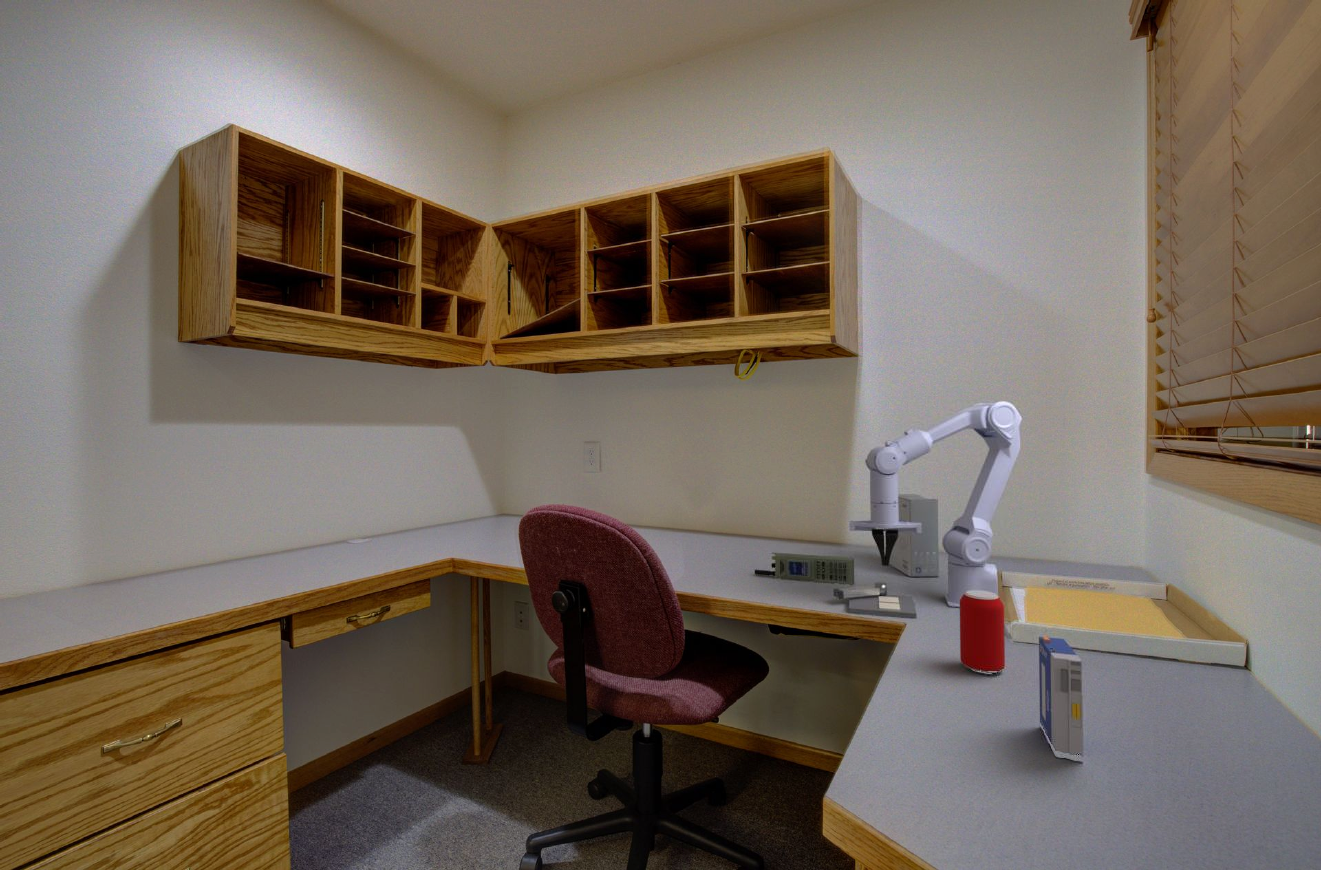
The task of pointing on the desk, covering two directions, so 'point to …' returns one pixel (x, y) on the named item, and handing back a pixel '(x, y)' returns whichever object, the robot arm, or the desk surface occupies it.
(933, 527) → the hard drive box
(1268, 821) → the desk surface
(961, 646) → the beverage can
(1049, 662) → the walkman
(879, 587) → the bar
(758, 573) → the handheld radio
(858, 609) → the label board
